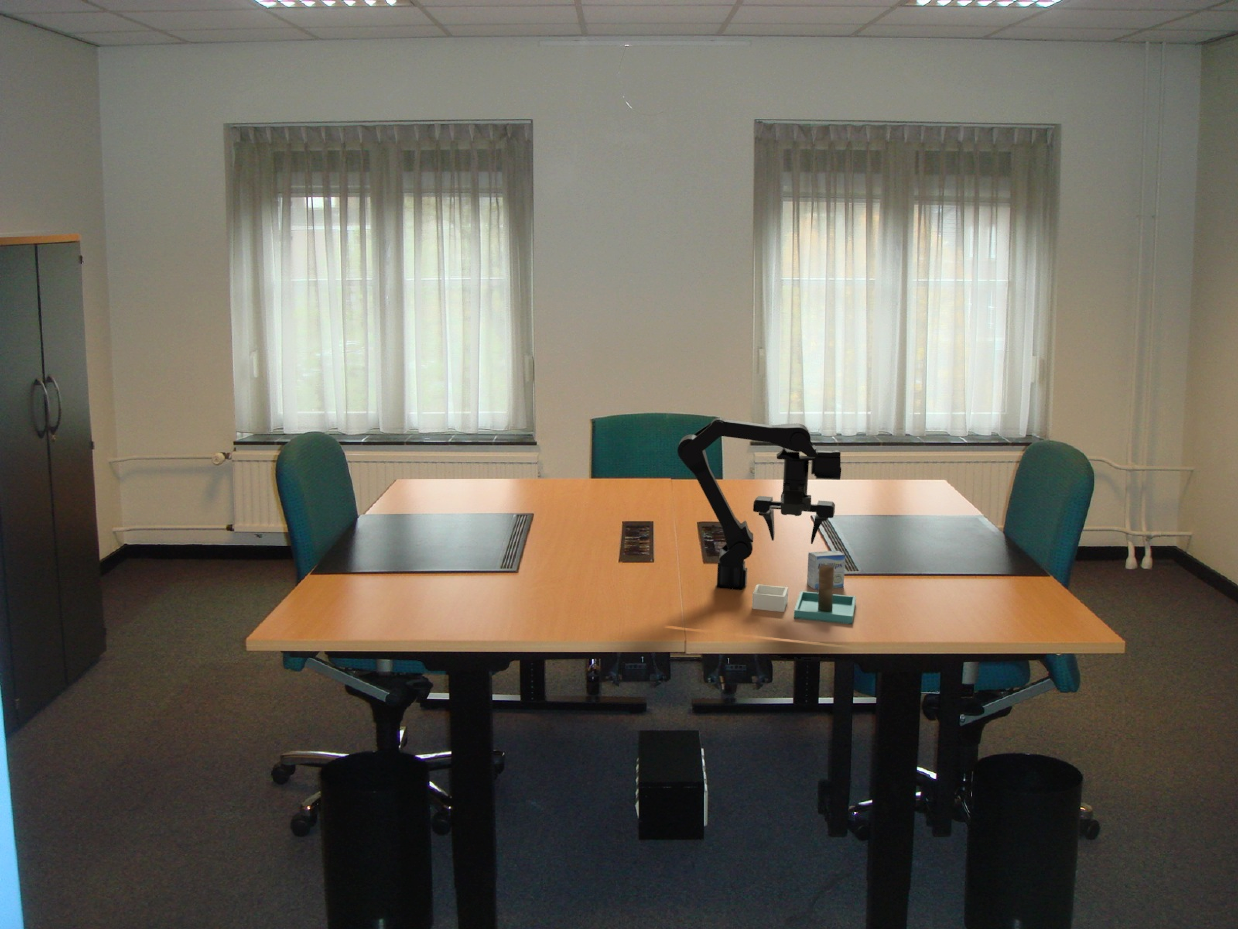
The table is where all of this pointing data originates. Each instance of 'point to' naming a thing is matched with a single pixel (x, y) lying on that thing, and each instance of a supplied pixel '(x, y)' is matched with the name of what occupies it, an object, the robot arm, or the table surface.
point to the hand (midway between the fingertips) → (792, 541)
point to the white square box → (770, 598)
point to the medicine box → (826, 558)
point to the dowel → (825, 588)
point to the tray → (839, 613)
